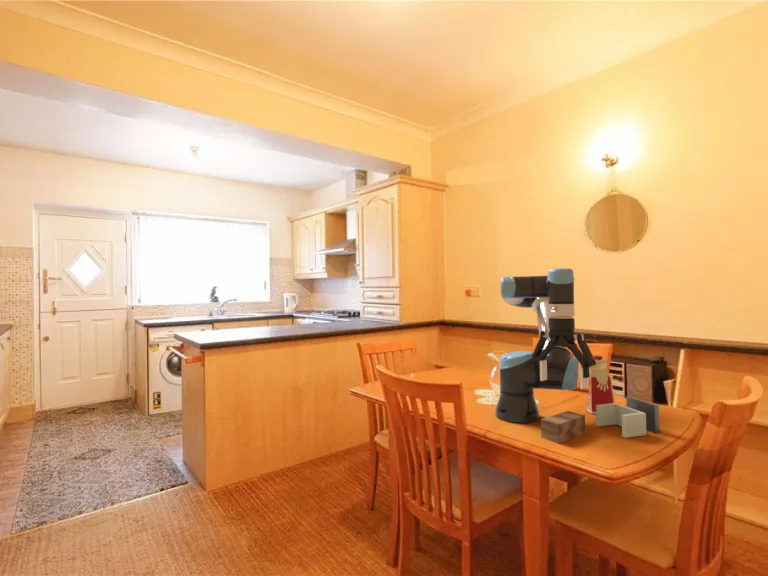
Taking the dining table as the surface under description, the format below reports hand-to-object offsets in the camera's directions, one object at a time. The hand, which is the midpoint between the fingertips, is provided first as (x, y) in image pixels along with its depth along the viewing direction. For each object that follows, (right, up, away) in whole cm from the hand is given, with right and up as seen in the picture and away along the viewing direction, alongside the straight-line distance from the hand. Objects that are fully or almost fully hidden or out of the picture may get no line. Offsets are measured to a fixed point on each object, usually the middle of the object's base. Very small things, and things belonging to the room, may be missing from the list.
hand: (562, 384), depth 129 cm
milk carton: (+24, -16, +23) cm, 37 cm away
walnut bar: (0, -17, 0) cm, 17 cm away
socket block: (+20, -16, +3) cm, 26 cm away
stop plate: (+29, -16, +5) cm, 33 cm away
